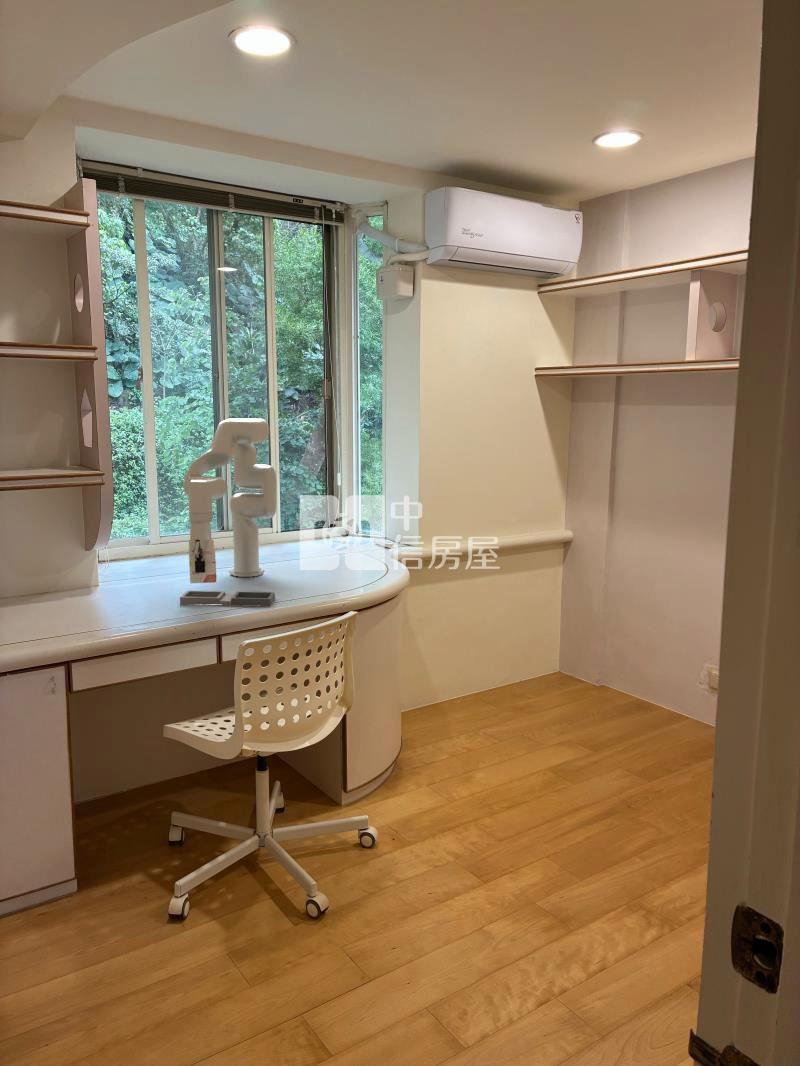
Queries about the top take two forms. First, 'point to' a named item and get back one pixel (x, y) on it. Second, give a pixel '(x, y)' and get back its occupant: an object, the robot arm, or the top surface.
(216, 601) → the brown rectangular tray
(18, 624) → the top surface
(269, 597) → the grey tray
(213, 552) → the ink cartridge box
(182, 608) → the top surface
